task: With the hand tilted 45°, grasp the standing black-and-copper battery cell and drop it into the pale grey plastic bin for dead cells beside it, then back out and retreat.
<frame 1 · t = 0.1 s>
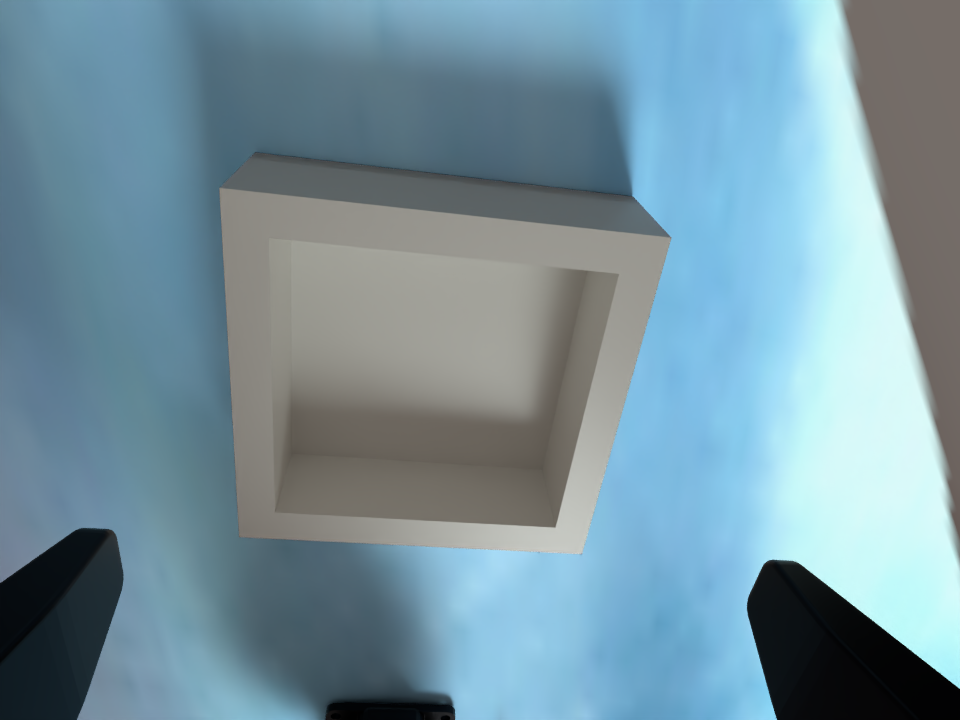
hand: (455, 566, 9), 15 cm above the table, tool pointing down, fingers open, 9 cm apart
bin: (432, 342, 24), on the table
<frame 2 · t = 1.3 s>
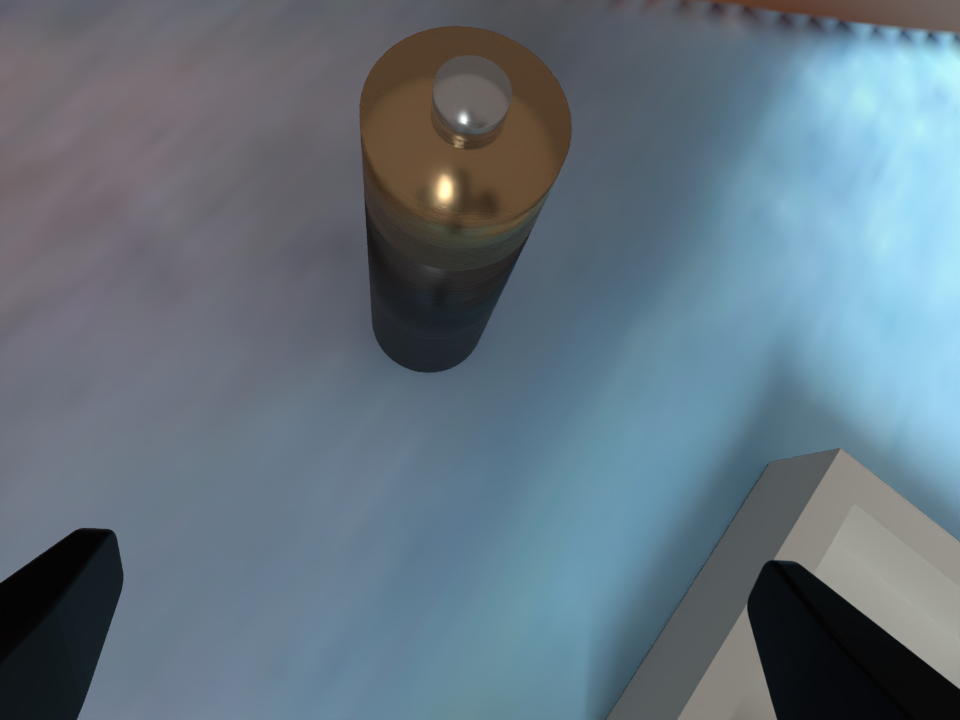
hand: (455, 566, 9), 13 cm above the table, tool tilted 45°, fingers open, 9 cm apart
cell: (428, 318, 24), on the table
bin: (824, 713, 23), on the table
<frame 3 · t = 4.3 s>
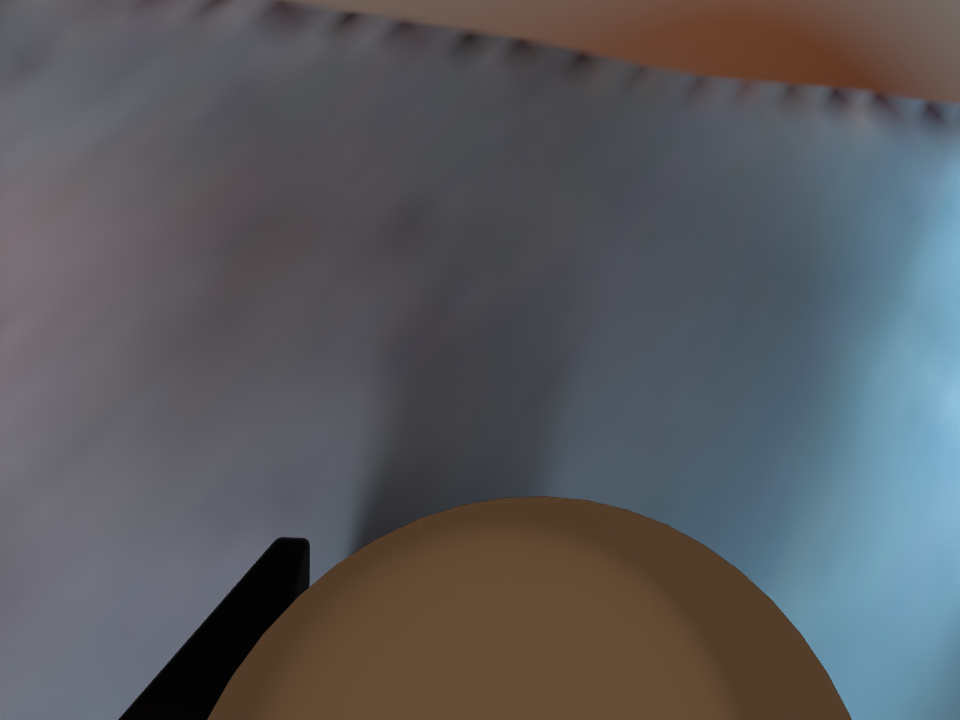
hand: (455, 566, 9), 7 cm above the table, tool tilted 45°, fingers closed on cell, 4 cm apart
cell: (422, 619, 15), on the table, touching gripper
when the fingers open (9 cm above the table, at t = 8.3 s): cell drops 2 cm, resting on bin.
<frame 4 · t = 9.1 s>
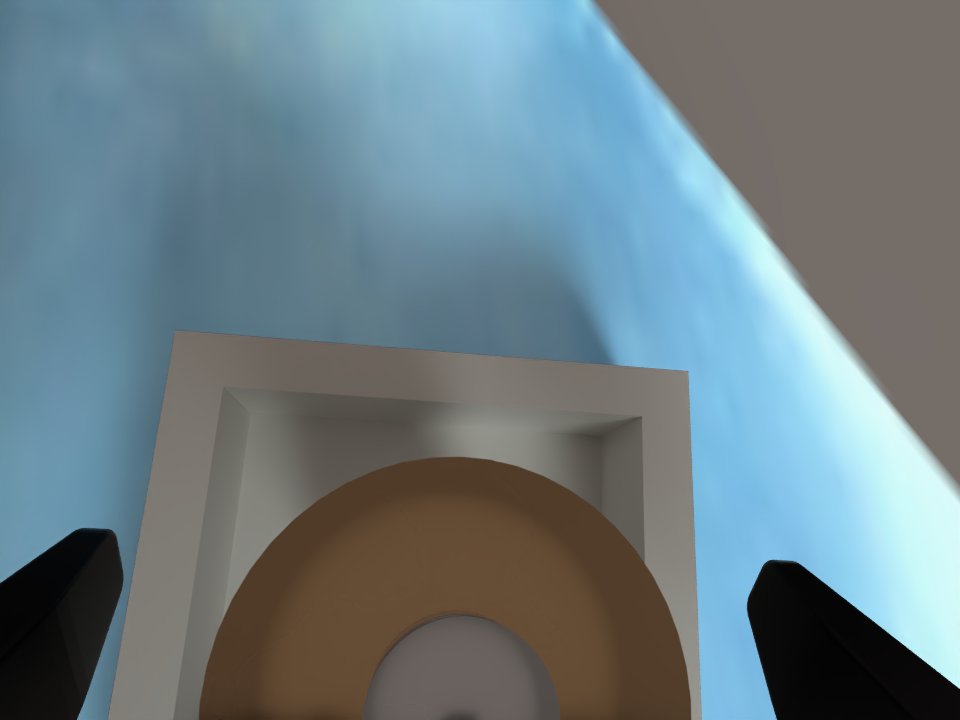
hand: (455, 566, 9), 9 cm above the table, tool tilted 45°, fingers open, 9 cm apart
cell: (419, 610, 17), point 1 cm above the table, touching bin
bin: (417, 607, 18), on the table
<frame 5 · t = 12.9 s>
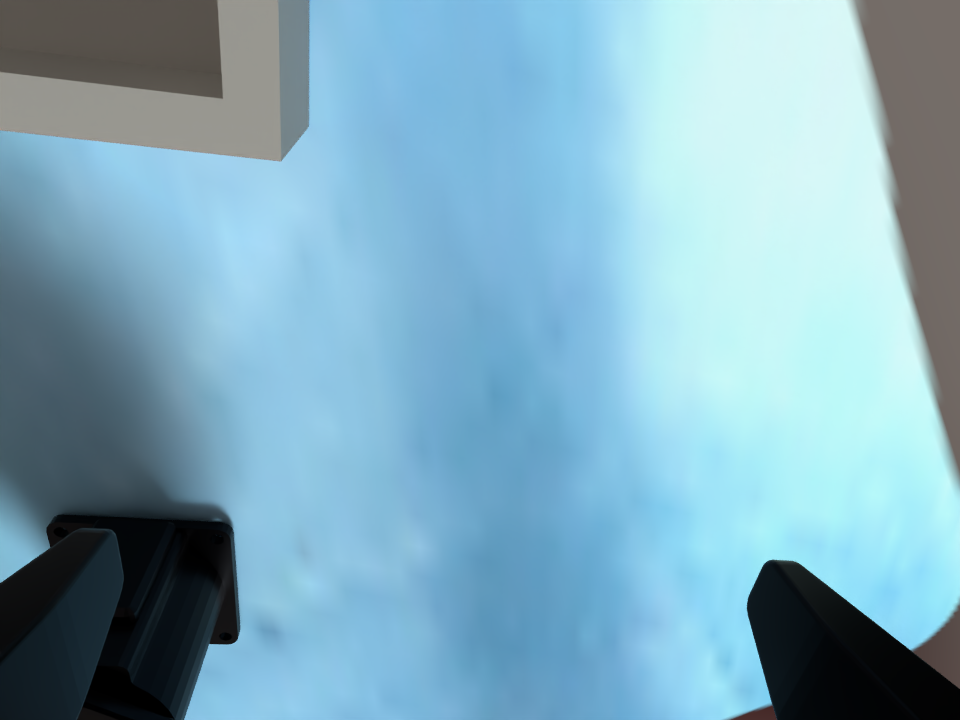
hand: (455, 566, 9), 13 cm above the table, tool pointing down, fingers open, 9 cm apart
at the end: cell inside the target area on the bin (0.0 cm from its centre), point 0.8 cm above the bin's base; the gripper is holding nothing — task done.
